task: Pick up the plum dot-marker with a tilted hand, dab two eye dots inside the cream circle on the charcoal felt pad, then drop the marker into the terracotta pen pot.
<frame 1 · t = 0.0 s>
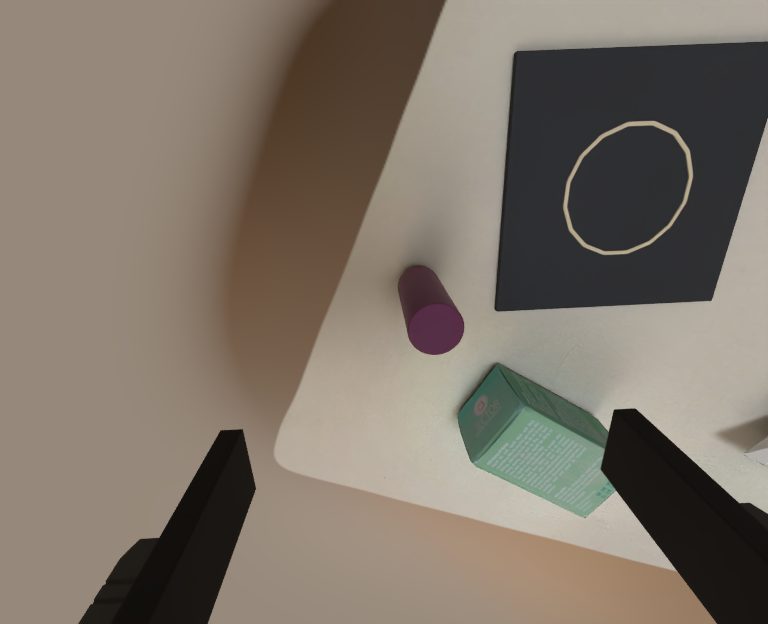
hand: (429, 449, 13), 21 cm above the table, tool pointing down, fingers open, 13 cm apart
felt pad: (622, 191, 30), on the table
box: (523, 412, 39), on the table
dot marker: (416, 282, 33), on the table
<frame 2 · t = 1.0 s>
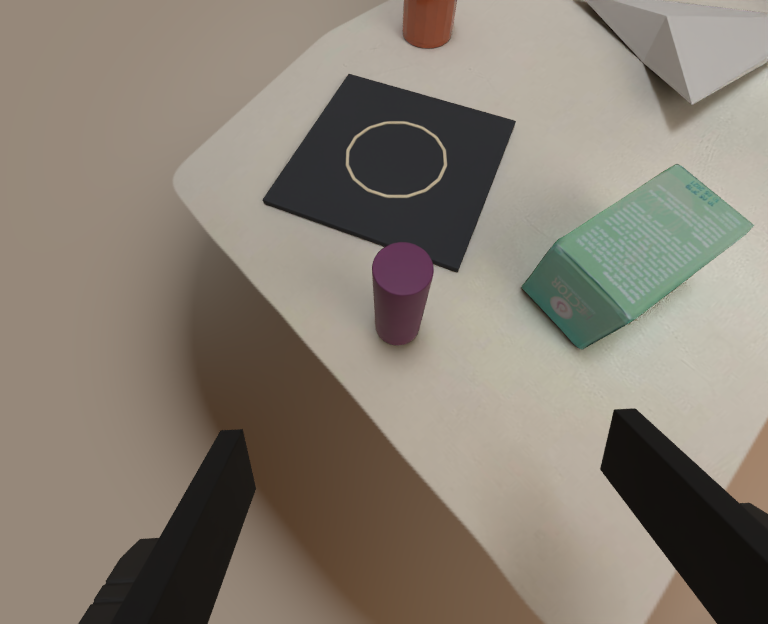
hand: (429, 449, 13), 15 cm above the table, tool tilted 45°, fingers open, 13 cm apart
felt pad: (396, 162, 38), on the table
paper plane: (667, 31, 47), on the table, touching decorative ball
box: (598, 282, 33), on the table
pen pot: (426, 32, 47), on the table
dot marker: (396, 329, 31), on the table
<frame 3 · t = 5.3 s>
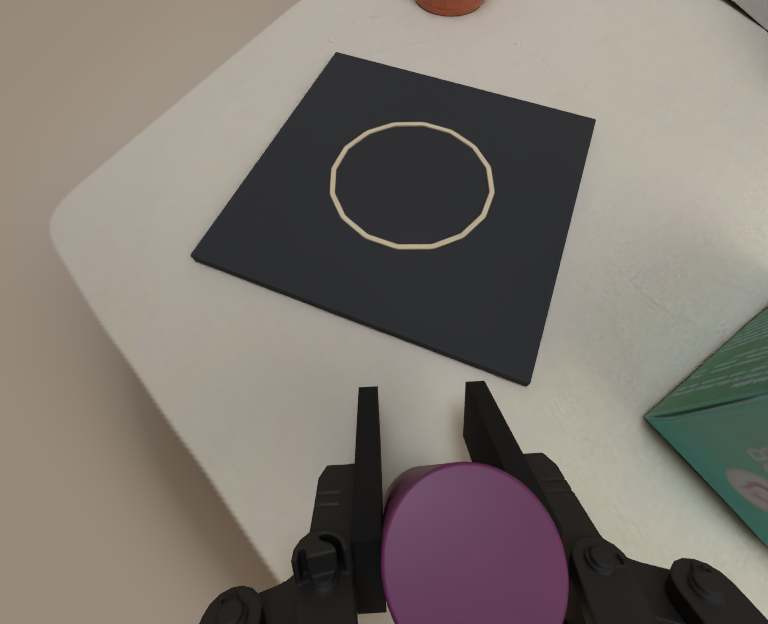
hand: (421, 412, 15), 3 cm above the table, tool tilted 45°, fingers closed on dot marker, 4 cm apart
felt pad: (410, 187, 24), on the table
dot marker: (423, 509, 17), on the table, touching gripper
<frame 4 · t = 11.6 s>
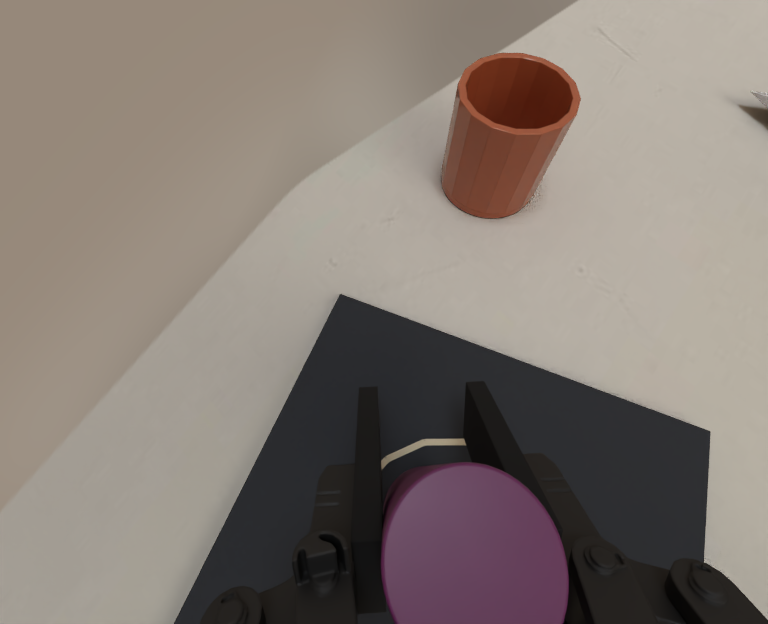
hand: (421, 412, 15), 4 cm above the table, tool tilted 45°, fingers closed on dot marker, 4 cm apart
felt pad: (451, 561, 16), on the table
pen pot: (486, 181, 25), on the table
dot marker: (423, 509, 17), point 1 cm above the table, touching gripper
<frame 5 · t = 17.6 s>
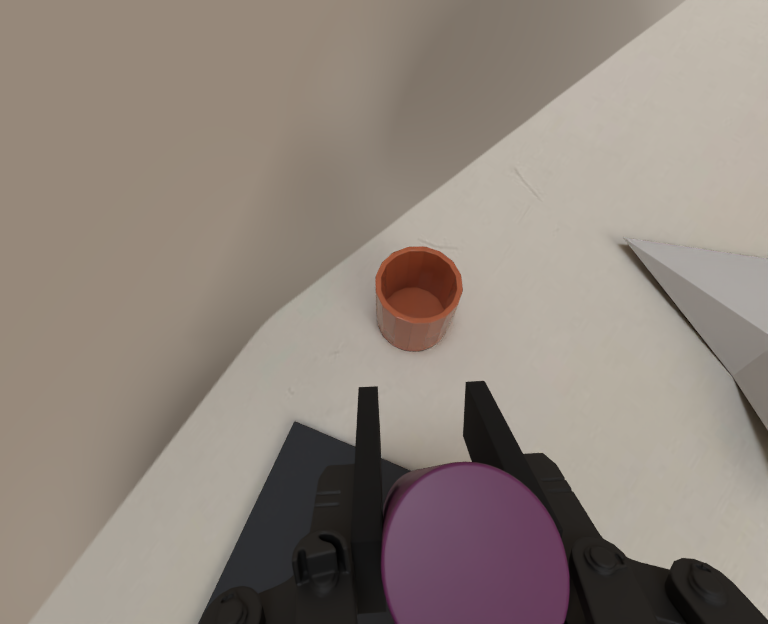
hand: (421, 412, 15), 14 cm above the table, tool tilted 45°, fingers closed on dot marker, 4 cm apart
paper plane: (760, 308, 32), on the table, touching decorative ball
pen pot: (412, 317, 32), on the table
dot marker: (423, 512, 16), point 11 cm above the table, touching gripper
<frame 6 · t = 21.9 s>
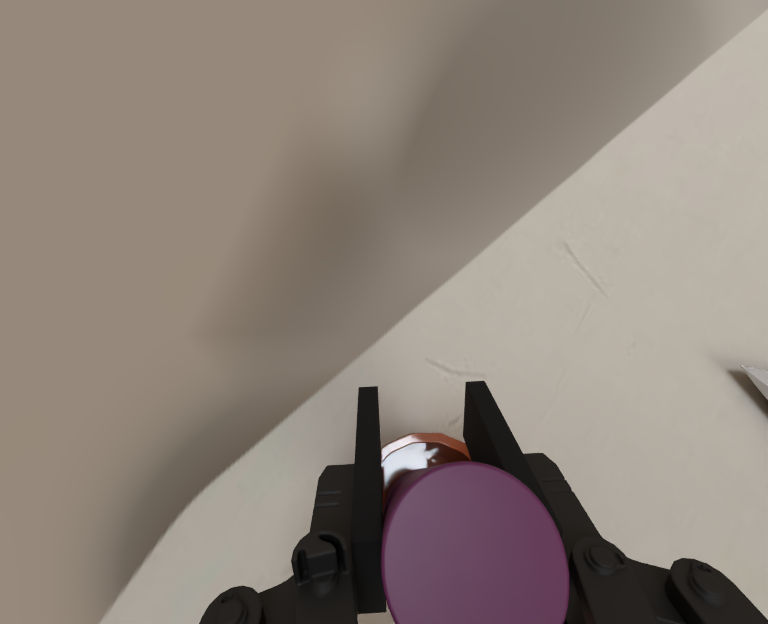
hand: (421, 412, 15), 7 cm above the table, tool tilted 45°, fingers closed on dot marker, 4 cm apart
pen pot: (417, 501, 20), on the table
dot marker: (423, 512, 16), point 4 cm above the table, touching gripper
when the fingers open (10 cm above the table, at t = 30.1 s): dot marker stays where it is, resting on pen pot.
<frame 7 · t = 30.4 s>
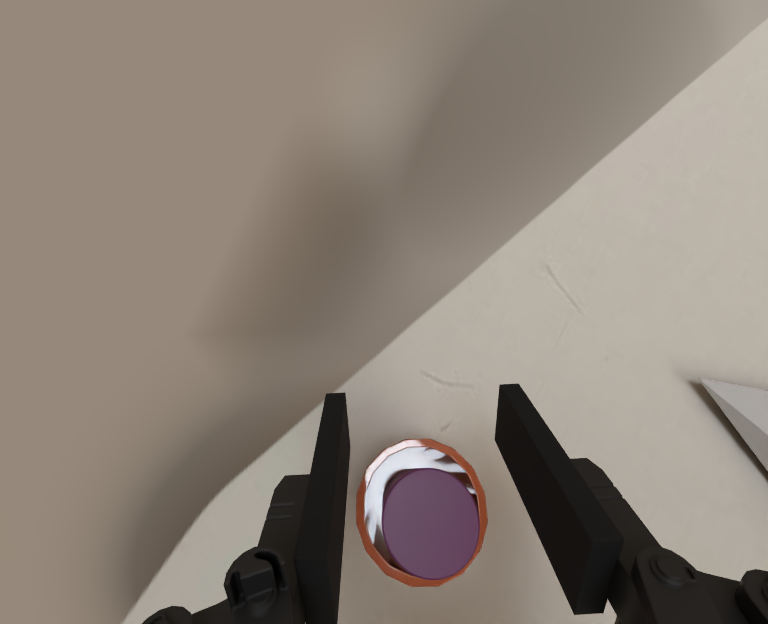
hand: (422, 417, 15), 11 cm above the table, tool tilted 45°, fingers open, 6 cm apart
pen pot: (412, 498, 23), on the table
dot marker: (411, 500, 23), point 1 cm above the table, touching pen pot
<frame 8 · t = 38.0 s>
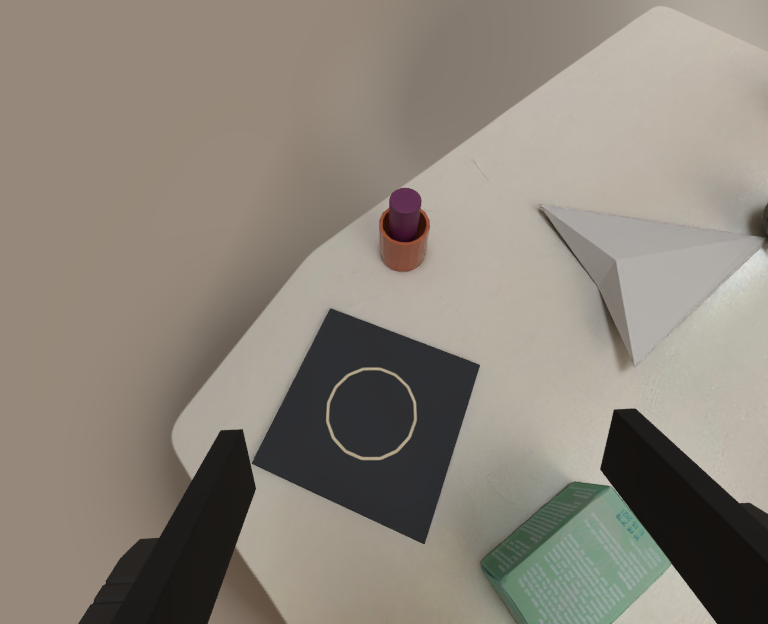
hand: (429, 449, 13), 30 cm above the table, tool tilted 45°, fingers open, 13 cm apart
felt pad: (371, 412, 43), on the table
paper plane: (622, 248, 51), on the table, touching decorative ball
box: (549, 554, 37), on the table
pen pot: (402, 252, 51), on the table
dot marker: (401, 250, 51), resting on pen pot
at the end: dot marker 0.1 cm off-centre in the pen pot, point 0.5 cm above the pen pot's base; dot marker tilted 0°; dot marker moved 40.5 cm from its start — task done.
